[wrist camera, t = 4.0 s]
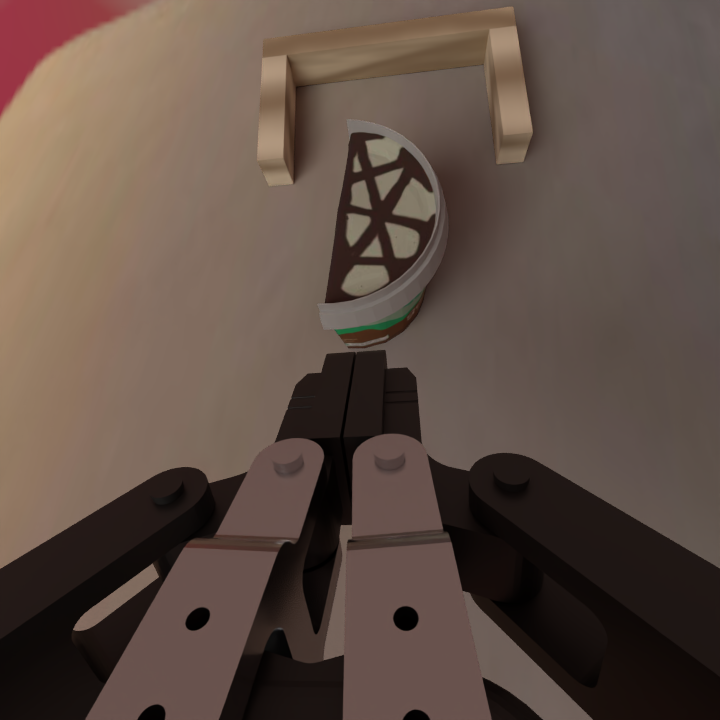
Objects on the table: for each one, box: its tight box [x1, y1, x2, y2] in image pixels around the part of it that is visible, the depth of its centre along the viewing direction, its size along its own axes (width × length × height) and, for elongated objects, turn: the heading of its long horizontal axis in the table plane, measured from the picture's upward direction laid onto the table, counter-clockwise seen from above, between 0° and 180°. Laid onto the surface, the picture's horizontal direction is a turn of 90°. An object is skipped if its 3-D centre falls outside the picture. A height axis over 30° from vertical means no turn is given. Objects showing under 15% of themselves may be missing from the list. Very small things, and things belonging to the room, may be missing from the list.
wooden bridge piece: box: [257, 7, 533, 186], centre depth 36 cm, size 12×20×3 cm, turn 91°
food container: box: [317, 119, 449, 348], centre depth 28 cm, size 12×6×10 cm, turn 173°
